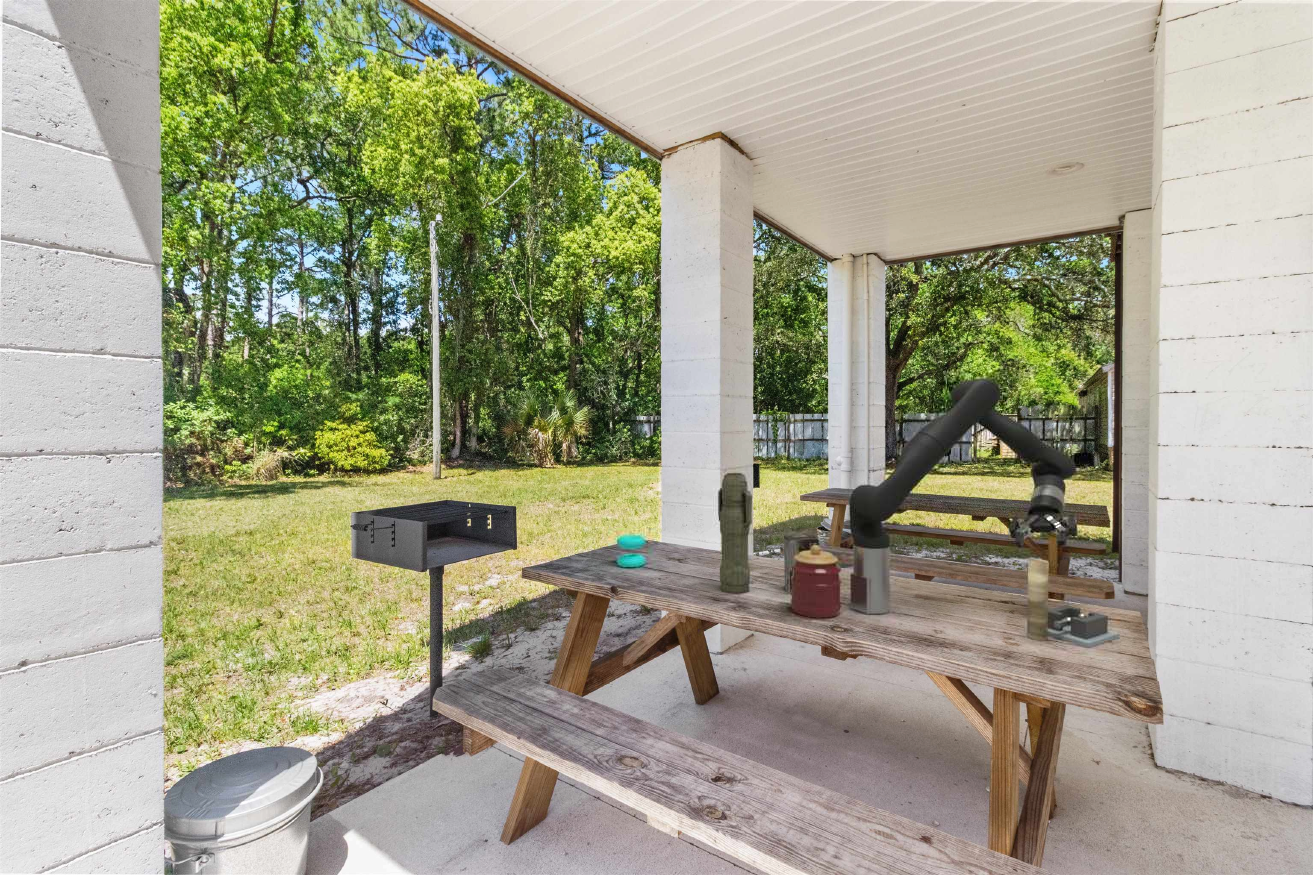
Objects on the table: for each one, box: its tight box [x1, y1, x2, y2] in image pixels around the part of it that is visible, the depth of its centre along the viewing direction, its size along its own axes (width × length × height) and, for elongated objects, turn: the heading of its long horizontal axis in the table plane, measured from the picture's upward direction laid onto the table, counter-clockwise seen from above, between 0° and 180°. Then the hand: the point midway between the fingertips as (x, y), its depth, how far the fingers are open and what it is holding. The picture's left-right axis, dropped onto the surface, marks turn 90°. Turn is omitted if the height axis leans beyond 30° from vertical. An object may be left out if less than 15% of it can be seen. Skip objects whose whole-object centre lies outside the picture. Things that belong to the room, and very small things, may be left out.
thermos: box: [717, 472, 753, 595], centre depth 177 cm, size 9×12×35 cm
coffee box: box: [783, 534, 820, 594], centre depth 176 cm, size 9×6×16 cm
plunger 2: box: [1077, 610, 1097, 619], centre depth 142 cm, size 6×2×2 cm, turn 117°
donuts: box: [616, 534, 646, 568], centre depth 208 cm, size 10×10×10 cm
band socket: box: [1047, 604, 1120, 649], centre depth 140 cm, size 13×12×5 cm
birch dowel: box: [1026, 558, 1050, 642], centre depth 137 cm, size 4×4×18 cm
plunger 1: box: [1054, 617, 1071, 628], centre depth 137 cm, size 6×2×2 cm, turn 117°
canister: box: [790, 545, 842, 619], centre depth 158 cm, size 13×13×18 cm
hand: (1039, 545), depth 144 cm, fingers open, 8 cm apart
